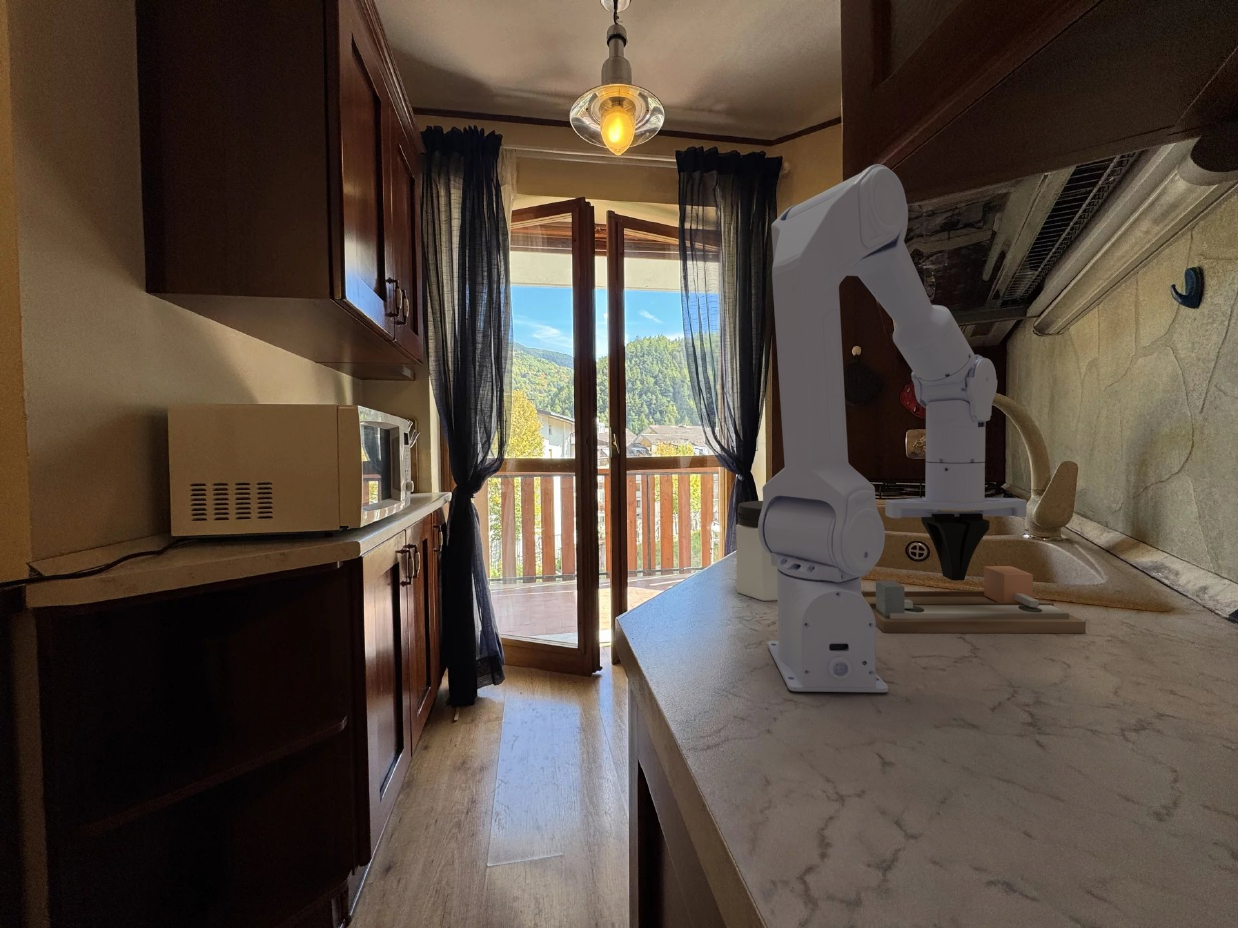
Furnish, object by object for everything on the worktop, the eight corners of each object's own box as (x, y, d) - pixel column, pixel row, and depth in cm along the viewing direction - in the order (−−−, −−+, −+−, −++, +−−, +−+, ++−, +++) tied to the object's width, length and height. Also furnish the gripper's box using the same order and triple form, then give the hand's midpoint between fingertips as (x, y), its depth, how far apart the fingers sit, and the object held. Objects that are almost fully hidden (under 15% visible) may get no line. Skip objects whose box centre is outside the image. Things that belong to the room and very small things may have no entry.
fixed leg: (916, 618, 54) (916, 586, 54) (885, 618, 55) (885, 586, 55) (905, 610, 57) (906, 580, 57) (875, 610, 57) (875, 580, 57)
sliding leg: (1049, 612, 54) (1049, 580, 54) (1019, 612, 55) (1020, 581, 54) (1010, 595, 60) (1010, 566, 60) (984, 595, 61) (984, 566, 60)
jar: (747, 579, 75) (745, 499, 74) (805, 585, 71) (804, 501, 70) (731, 597, 67) (729, 507, 66) (795, 605, 63) (794, 510, 62)
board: (1085, 633, 52) (1085, 615, 52) (883, 632, 54) (883, 615, 54) (1026, 605, 61) (1026, 589, 61) (853, 605, 63) (853, 590, 62)
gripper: (998, 459, 62) (996, 568, 62) (874, 461, 63) (874, 569, 64) (1041, 462, 55) (1039, 585, 55) (901, 464, 56) (900, 585, 57)
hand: (953, 578), depth 59 cm, fingers closed
